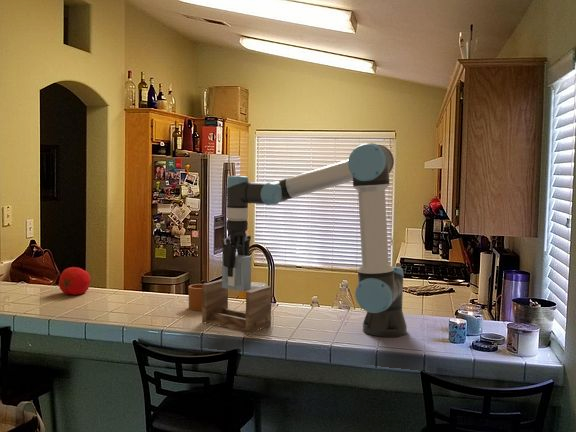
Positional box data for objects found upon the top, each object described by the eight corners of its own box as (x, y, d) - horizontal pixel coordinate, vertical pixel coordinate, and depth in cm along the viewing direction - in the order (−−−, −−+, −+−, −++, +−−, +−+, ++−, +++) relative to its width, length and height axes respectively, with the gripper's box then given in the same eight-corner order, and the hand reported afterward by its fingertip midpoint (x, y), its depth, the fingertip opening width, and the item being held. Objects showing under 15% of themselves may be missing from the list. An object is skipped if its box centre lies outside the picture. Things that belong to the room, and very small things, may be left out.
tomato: (80, 297, 261) (61, 304, 249) (66, 272, 262) (46, 279, 249) (101, 283, 258) (82, 290, 245) (86, 258, 258) (67, 264, 246)
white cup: (263, 312, 228) (263, 286, 227) (243, 310, 230) (244, 285, 229) (268, 307, 236) (268, 282, 235) (249, 306, 237) (249, 281, 237)
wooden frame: (270, 325, 210) (271, 286, 209) (250, 332, 201) (250, 292, 199) (223, 315, 223) (223, 278, 221) (202, 322, 213) (202, 284, 212)
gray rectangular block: (250, 289, 209) (251, 256, 208) (243, 291, 206) (243, 257, 205) (229, 285, 215) (229, 253, 214) (221, 287, 212) (221, 254, 210)
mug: (213, 312, 227) (213, 289, 226) (184, 310, 230) (184, 287, 229) (222, 306, 235) (221, 284, 234) (194, 304, 238) (193, 283, 237)
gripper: (244, 217, 217) (243, 279, 220) (212, 220, 203) (212, 286, 205) (260, 218, 213) (259, 281, 215) (229, 222, 199) (228, 289, 201)
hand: (236, 284), depth 210 cm, fingers closed on gray rectangular block, 4 cm apart
